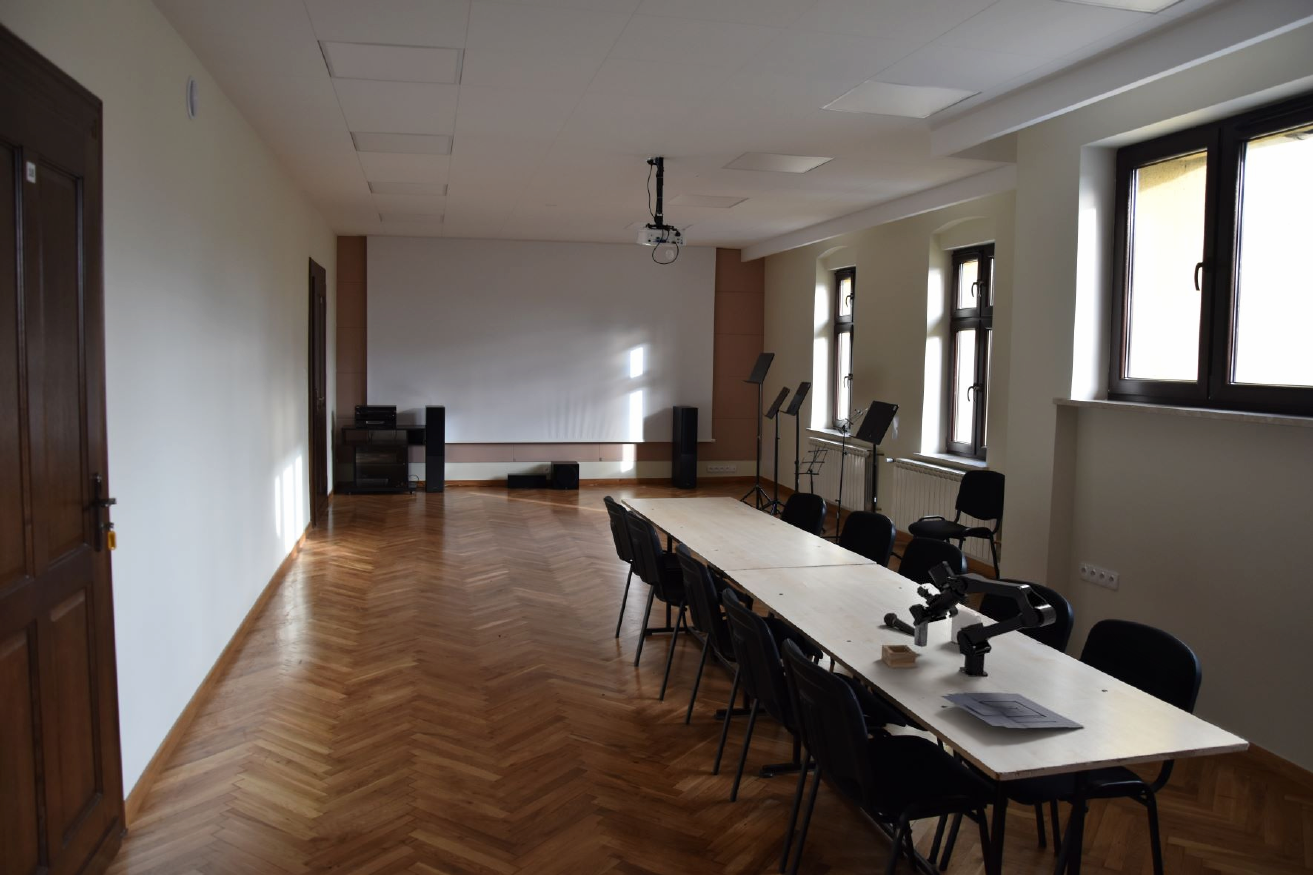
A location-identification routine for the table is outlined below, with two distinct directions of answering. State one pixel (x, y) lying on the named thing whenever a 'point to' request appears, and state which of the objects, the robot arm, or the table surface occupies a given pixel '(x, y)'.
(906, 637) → the table surface
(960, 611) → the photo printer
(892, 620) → the microphone
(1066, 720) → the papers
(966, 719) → the table surface
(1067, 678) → the table surface
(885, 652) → the socket block
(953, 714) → the table surface
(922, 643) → the pin
